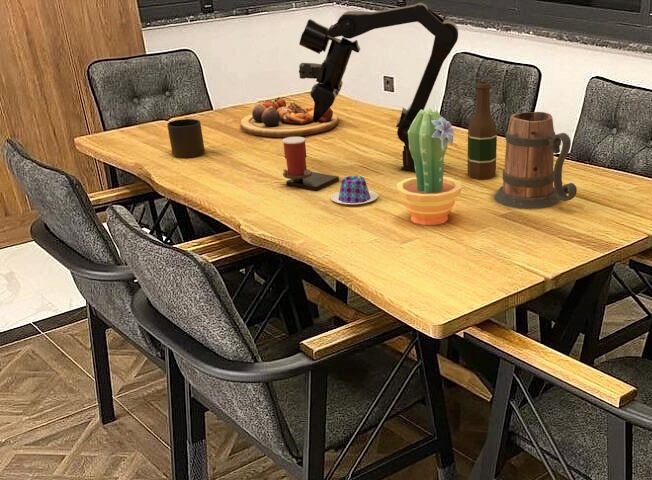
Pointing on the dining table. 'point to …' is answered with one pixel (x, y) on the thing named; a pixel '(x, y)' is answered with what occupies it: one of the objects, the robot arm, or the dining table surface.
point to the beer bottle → (482, 137)
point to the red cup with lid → (295, 155)
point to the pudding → (354, 191)
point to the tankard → (534, 163)
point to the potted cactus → (429, 170)
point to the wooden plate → (286, 120)
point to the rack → (310, 180)
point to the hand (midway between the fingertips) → (316, 117)
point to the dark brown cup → (186, 138)
